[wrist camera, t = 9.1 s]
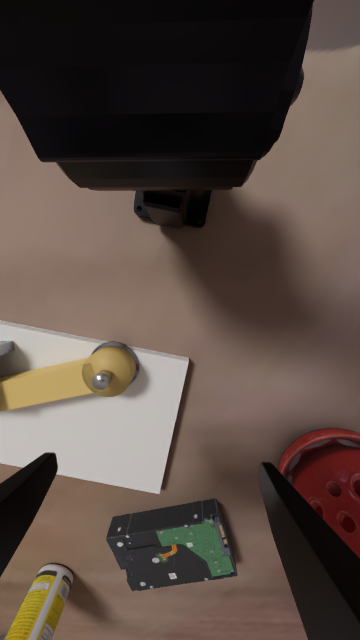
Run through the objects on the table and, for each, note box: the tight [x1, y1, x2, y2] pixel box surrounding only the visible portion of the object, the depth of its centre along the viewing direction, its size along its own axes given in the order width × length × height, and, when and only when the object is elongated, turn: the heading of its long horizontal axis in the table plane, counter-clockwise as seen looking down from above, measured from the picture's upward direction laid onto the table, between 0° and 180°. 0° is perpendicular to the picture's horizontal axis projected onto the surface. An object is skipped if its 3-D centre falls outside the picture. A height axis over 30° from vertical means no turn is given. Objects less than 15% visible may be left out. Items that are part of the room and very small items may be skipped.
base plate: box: [0, 320, 189, 494], centre depth 21 cm, size 18×26×1 cm
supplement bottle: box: [5, 564, 73, 640], centre depth 23 cm, size 5×5×10 cm
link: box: [0, 345, 136, 412], centre depth 18 cm, size 16×5×2 cm, turn 103°
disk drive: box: [106, 499, 237, 591], centre depth 24 cm, size 10×3×15 cm
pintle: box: [91, 341, 139, 390], centre depth 17 cm, size 5×5×3 cm
